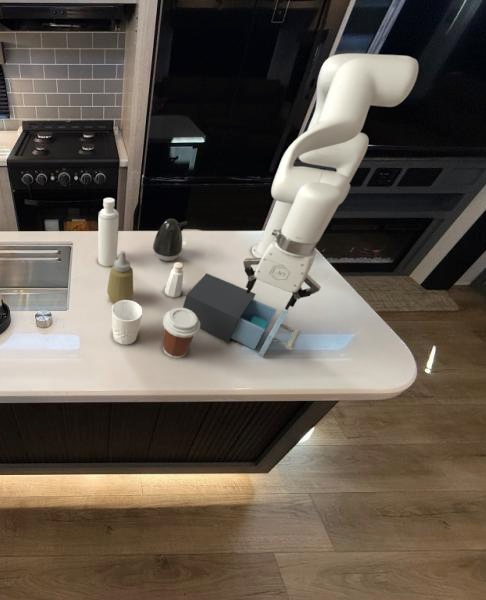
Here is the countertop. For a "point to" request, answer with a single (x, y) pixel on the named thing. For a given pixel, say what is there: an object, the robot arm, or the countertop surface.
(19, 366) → the countertop surface
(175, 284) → the pepper shaker
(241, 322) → the drawer
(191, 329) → the coffee cup
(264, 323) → the teal cube
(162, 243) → the pump dispenser
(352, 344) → the countertop surface
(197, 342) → the countertop surface
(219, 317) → the dark grey drawer cabinet
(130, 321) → the white cup
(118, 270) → the squeeze bottle
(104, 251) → the white bottle
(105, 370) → the countertop surface
